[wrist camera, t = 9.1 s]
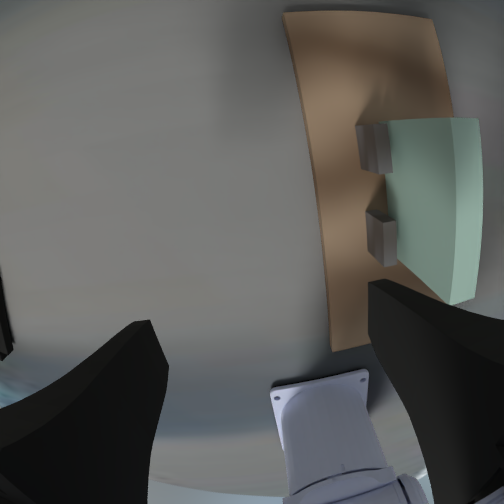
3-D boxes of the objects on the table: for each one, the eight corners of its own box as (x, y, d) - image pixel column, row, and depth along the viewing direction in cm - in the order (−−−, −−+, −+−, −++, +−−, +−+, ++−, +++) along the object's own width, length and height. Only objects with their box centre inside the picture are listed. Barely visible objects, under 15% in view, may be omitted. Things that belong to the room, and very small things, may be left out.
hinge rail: (444, 314, 21) (466, 337, 18) (330, 345, 21) (341, 376, 18) (426, 22, 13) (453, 8, 10) (281, 17, 14) (289, -7, 11)
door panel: (410, 247, 18) (474, 297, 12) (389, 252, 18) (449, 306, 12) (401, 120, 15) (478, 118, 9) (378, 121, 15) (450, 117, 9)
